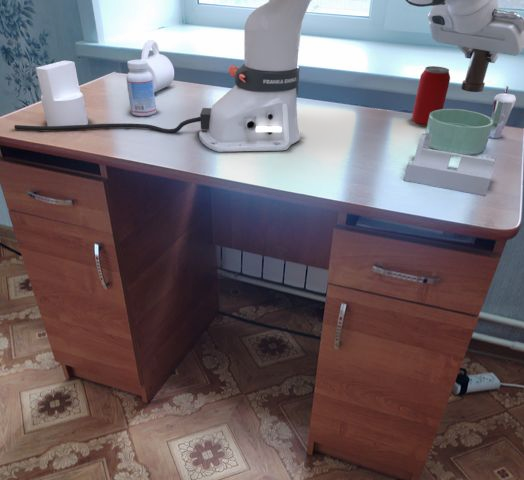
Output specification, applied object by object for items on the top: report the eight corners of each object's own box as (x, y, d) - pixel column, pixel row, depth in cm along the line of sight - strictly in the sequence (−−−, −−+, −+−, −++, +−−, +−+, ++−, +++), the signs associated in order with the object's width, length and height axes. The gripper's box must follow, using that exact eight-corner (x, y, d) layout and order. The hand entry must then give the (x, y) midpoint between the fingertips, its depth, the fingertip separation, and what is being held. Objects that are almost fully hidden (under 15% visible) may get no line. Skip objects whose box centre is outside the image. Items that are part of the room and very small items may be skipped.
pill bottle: (161, 112, 124) (156, 61, 117) (144, 118, 121) (138, 65, 113) (143, 108, 127) (137, 57, 120) (125, 113, 123) (118, 61, 116)
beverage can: (436, 120, 126) (449, 66, 119) (441, 128, 121) (454, 73, 114) (409, 118, 127) (420, 64, 119) (412, 126, 122) (424, 71, 114)
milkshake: (503, 133, 120) (518, 87, 113) (503, 140, 116) (519, 93, 110) (483, 130, 121) (497, 85, 114) (483, 137, 117) (497, 90, 111)
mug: (130, 93, 137) (124, 42, 129) (149, 85, 144) (144, 36, 136) (158, 97, 135) (153, 45, 127) (175, 88, 142) (172, 39, 134)
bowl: (445, 159, 105) (453, 129, 102) (411, 139, 115) (417, 111, 111) (497, 153, 109) (506, 124, 105) (460, 134, 118) (467, 107, 114)
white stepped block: (66, 115, 121) (54, 58, 113) (96, 121, 118) (86, 63, 110) (38, 125, 114) (23, 66, 106) (69, 132, 112) (56, 71, 104)
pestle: (469, 92, 113) (487, 27, 105) (456, 87, 116) (472, 23, 108) (487, 91, 114) (506, 26, 106) (474, 86, 118) (491, 23, 110)
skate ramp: (403, 180, 96) (409, 153, 93) (416, 158, 105) (422, 133, 102) (485, 195, 92) (494, 168, 88) (491, 171, 101) (500, 145, 98)
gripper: (533, -1, 94) (535, 53, 106) (437, -12, 105) (448, 38, 117) (514, 29, 95) (518, 79, 106) (420, 15, 106) (433, 62, 117)
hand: (481, 57), depth 112 cm, fingers closed on pestle, 4 cm apart
